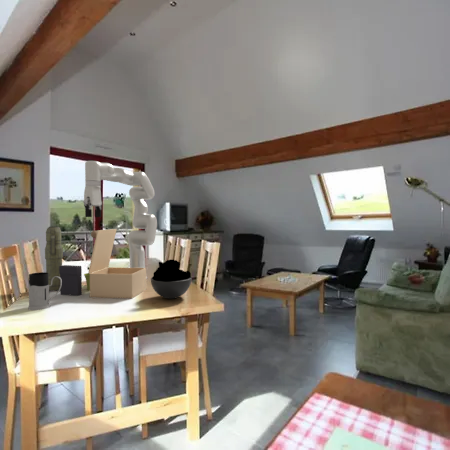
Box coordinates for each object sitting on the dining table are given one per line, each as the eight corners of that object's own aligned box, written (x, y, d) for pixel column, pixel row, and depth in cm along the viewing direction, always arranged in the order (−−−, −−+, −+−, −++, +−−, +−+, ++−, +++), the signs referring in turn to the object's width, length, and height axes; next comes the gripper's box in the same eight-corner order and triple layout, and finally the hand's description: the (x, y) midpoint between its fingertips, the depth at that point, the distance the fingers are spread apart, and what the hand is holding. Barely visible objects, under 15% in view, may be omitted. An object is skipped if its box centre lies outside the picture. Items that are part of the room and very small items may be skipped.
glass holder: (34, 304, 147) (33, 272, 146) (66, 304, 148) (65, 271, 147) (23, 310, 138) (23, 275, 138) (57, 309, 139) (57, 275, 139)
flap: (108, 267, 180) (94, 263, 180) (116, 229, 178) (102, 225, 179) (89, 273, 159) (73, 269, 160) (98, 230, 158) (82, 226, 159)
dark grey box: (83, 294, 167) (82, 265, 166) (77, 296, 162) (76, 266, 162) (65, 292, 170) (65, 264, 169) (59, 294, 165) (58, 266, 165)
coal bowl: (186, 291, 171) (186, 257, 171) (196, 300, 153) (196, 261, 152) (148, 295, 164) (147, 258, 164) (154, 305, 146) (153, 264, 145)
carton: (108, 288, 180) (108, 267, 179) (146, 289, 177) (146, 267, 177) (89, 297, 160) (89, 273, 159) (132, 298, 157) (132, 274, 157)
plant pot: (80, 290, 175) (80, 274, 175) (91, 286, 184) (91, 271, 184) (95, 291, 173) (95, 275, 173) (105, 287, 182) (105, 272, 182)
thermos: (45, 292, 170) (44, 227, 169) (45, 288, 180) (44, 226, 180) (64, 290, 175) (63, 226, 174) (62, 286, 185) (61, 226, 184)
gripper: (94, 186, 178) (95, 217, 178) (77, 183, 160) (77, 217, 161) (107, 186, 177) (107, 217, 177) (91, 182, 160) (91, 217, 160)
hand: (93, 217), depth 169 cm, fingers open, 9 cm apart
